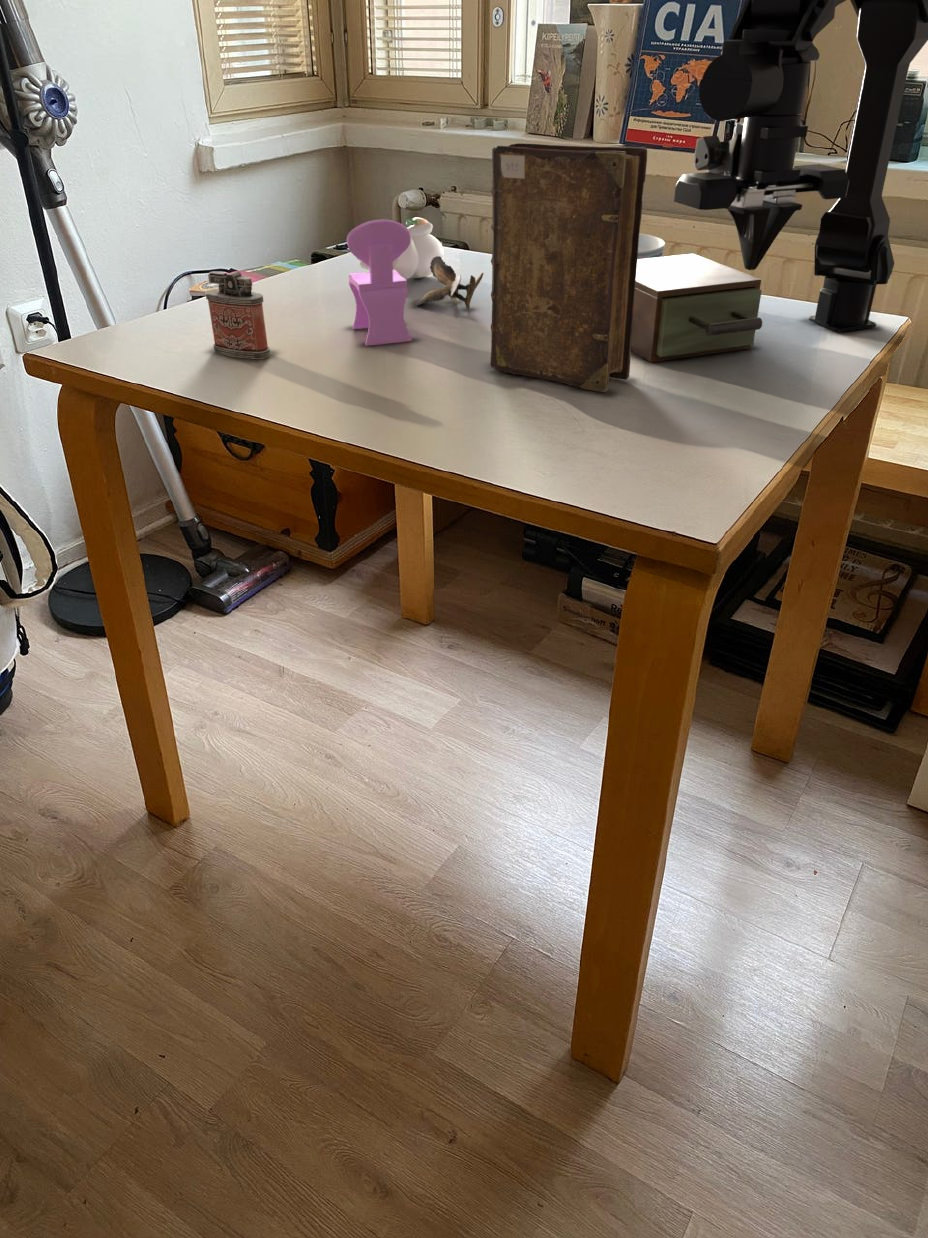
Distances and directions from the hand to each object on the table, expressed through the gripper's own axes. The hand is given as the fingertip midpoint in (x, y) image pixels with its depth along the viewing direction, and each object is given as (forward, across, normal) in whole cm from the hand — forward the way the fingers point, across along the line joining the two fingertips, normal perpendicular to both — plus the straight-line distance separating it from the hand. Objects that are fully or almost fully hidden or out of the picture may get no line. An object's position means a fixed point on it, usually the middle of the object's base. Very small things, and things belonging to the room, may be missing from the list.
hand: (750, 269), depth 107 cm
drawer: (+11, 0, -11) cm, 15 cm away
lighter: (+12, +54, -31) cm, 63 cm away
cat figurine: (+12, +23, -60) cm, 65 cm away
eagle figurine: (+12, +22, -42) cm, 48 cm away
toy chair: (+12, +35, -32) cm, 49 cm away
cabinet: (+12, 0, -15) cm, 19 cm away
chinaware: (+12, -3, -38) cm, 40 cm away
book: (+12, +20, -8) cm, 25 cm away
